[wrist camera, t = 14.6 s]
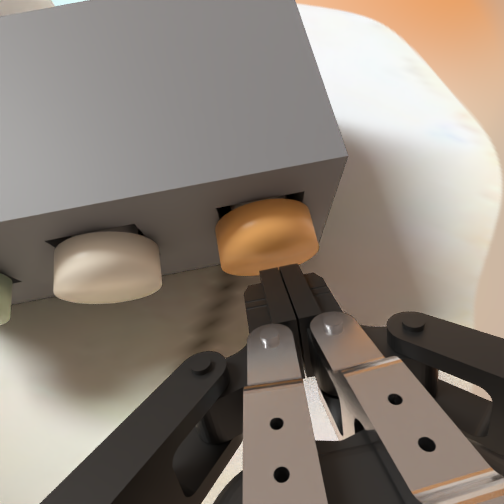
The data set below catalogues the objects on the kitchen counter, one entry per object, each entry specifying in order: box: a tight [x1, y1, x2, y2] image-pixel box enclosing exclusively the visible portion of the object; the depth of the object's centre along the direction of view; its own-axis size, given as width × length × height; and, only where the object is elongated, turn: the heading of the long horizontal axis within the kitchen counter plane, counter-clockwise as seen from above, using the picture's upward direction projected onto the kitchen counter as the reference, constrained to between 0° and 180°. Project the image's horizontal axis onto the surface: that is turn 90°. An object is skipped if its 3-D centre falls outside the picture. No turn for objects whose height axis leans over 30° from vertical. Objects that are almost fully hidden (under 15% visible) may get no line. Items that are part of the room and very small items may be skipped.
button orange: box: [215, 195, 319, 276], centre depth 15 cm, size 4×5×4 cm
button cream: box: [53, 224, 162, 304], centre depth 15 cm, size 4×5×4 cm
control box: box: [0, 0, 348, 305], centre depth 17 cm, size 19×10×8 cm, turn 100°
